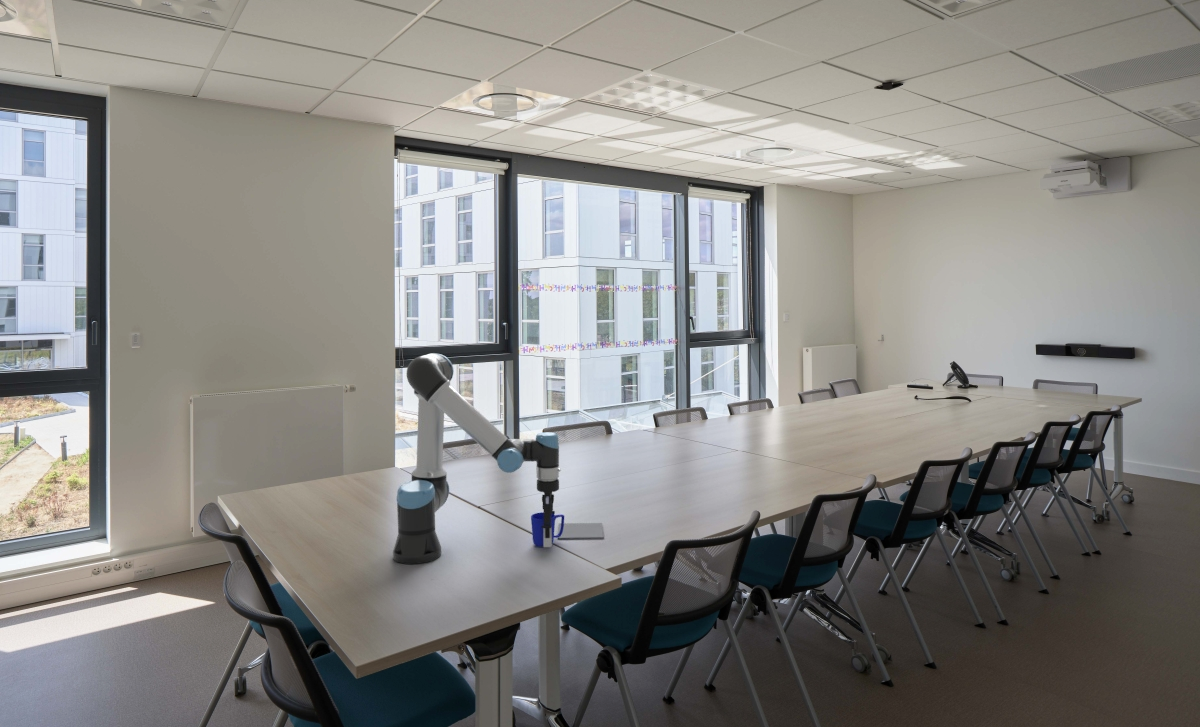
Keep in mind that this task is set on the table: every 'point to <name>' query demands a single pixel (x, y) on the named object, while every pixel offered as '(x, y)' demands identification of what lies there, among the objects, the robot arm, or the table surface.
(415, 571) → the table surface
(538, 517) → the mug
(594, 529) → the coaster
